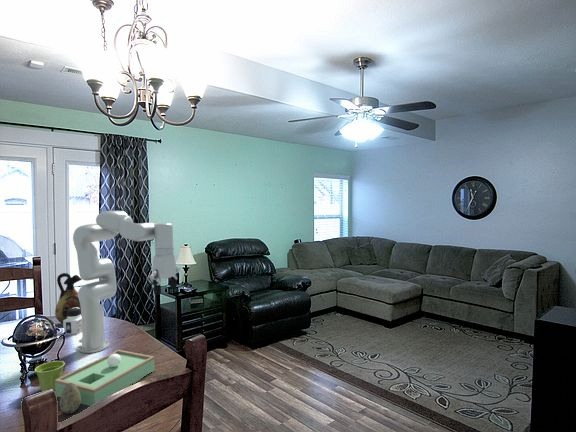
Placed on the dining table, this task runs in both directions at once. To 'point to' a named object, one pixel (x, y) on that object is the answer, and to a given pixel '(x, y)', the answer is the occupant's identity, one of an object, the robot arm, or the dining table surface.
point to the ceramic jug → (67, 296)
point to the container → (73, 321)
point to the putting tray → (106, 376)
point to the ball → (114, 360)
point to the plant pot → (49, 374)
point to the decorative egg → (70, 398)
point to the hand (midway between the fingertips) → (165, 291)
